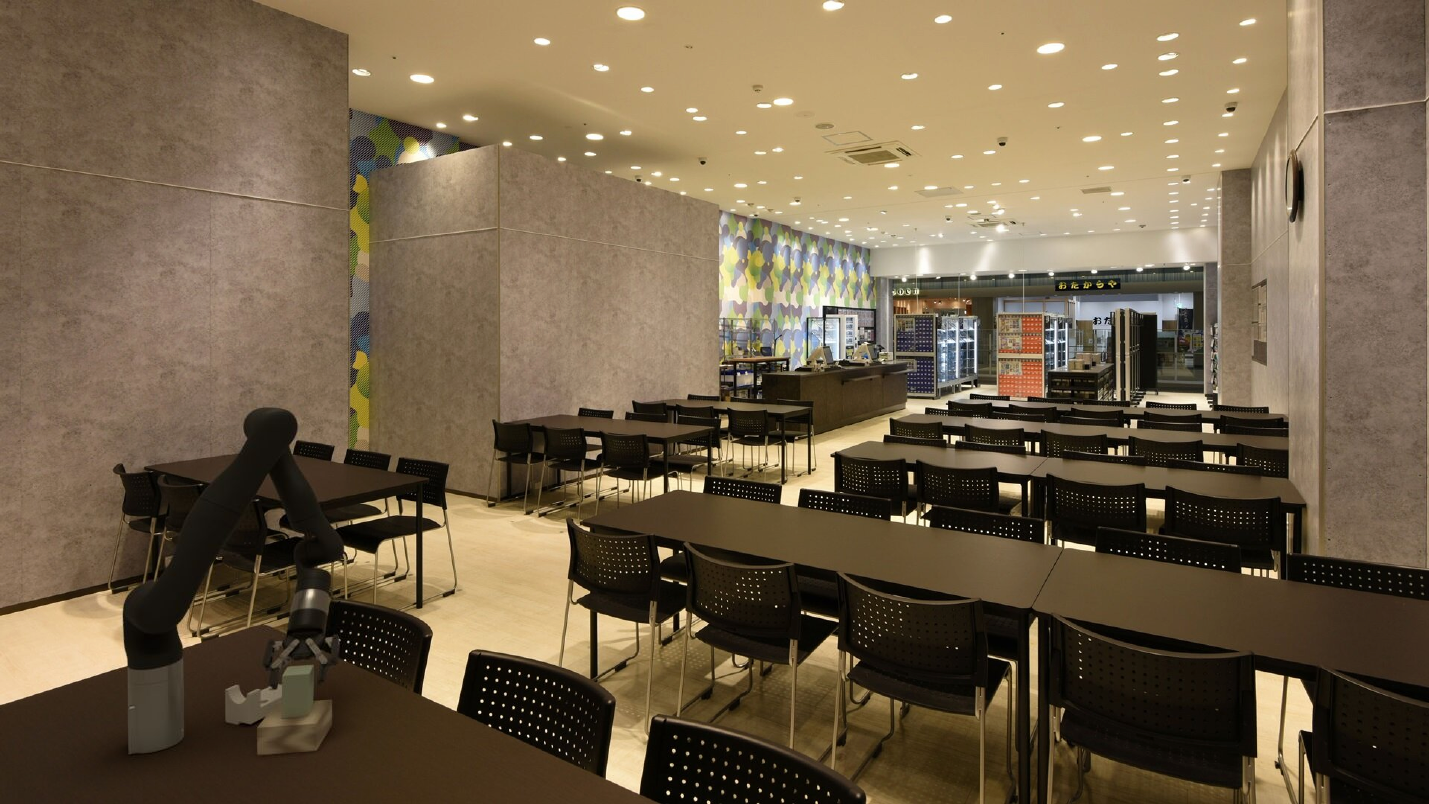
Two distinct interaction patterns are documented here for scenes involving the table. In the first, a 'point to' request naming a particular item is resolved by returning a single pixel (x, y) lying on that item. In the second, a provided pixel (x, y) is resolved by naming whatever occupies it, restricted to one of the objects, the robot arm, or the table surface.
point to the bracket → (250, 704)
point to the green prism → (297, 691)
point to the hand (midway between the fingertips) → (297, 686)
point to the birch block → (294, 730)
